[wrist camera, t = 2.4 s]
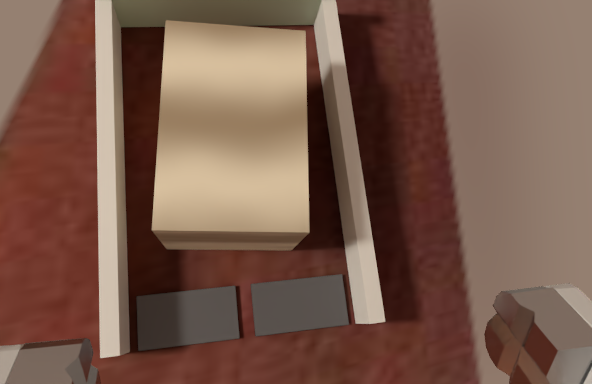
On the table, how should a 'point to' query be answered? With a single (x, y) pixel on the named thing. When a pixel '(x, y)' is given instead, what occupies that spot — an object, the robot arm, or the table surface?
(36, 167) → the table surface
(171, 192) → the birch block
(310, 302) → the box
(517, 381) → the robot arm
